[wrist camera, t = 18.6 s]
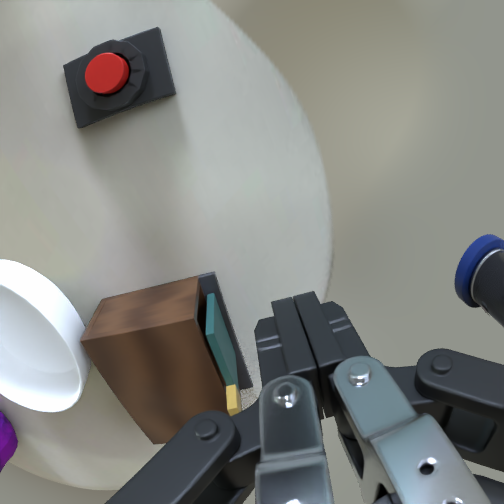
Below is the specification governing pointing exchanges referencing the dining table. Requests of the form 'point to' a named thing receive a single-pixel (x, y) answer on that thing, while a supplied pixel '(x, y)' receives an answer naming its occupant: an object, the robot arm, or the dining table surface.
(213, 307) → the door
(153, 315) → the cabinet
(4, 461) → the decorative plant
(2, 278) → the bowl
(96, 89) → the button
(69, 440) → the dining table surface
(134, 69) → the switch box
